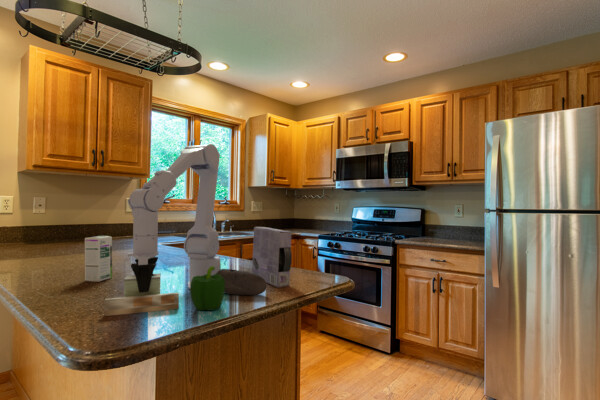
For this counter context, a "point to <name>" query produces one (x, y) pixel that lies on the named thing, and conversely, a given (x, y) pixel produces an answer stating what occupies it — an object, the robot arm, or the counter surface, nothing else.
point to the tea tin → (132, 286)
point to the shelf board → (141, 304)
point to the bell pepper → (207, 291)
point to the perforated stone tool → (242, 282)
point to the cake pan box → (272, 255)
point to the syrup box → (98, 258)
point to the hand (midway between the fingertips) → (145, 288)
